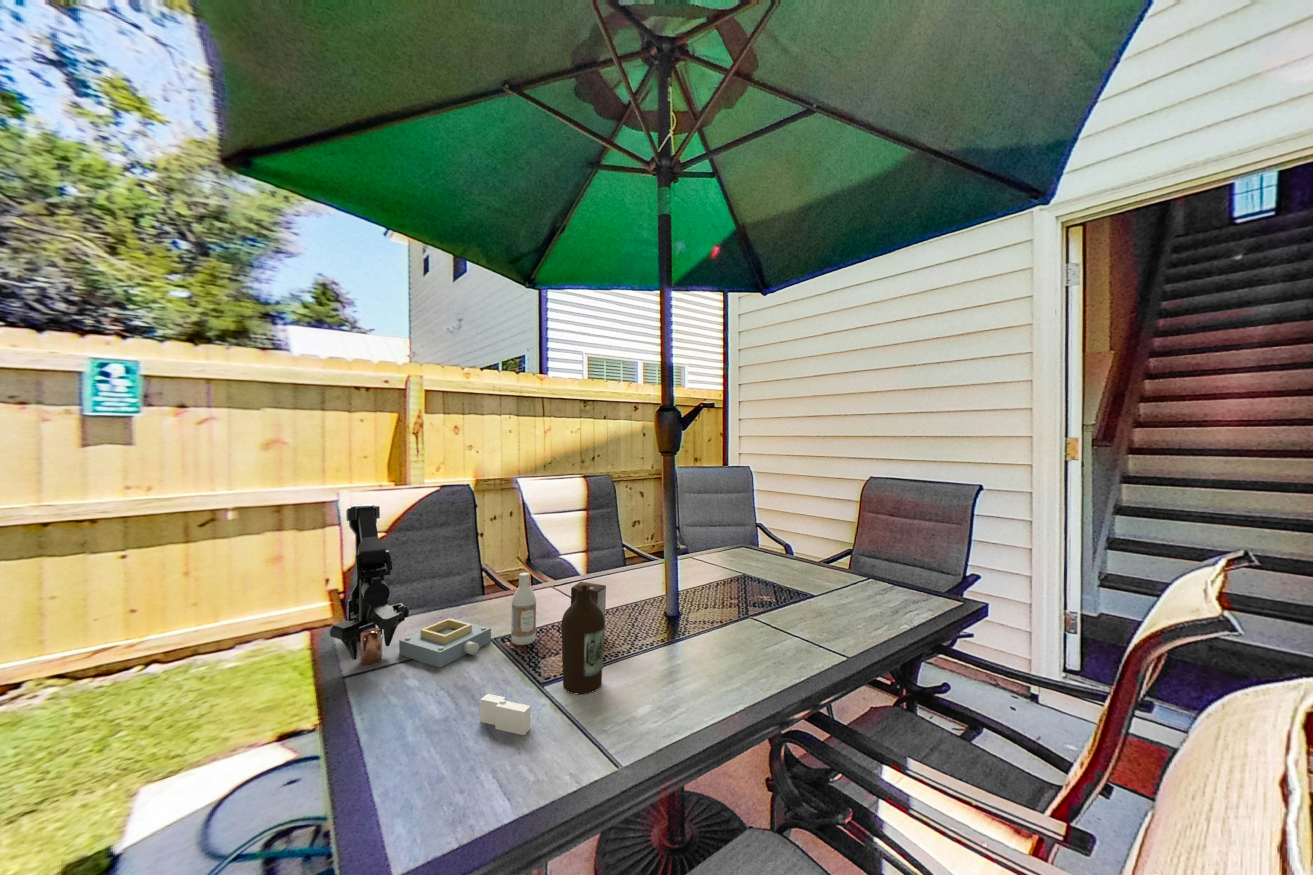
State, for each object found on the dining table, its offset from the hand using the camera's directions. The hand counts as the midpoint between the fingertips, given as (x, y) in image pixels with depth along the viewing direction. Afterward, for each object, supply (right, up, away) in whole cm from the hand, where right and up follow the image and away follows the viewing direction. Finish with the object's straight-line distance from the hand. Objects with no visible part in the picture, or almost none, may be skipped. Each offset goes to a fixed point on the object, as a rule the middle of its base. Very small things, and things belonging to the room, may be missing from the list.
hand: (371, 652), depth 133 cm
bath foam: (+37, -3, +14) cm, 40 cm away
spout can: (0, -2, 0) cm, 2 cm away
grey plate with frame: (+18, -2, +8) cm, 20 cm away
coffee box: (+56, -3, +16) cm, 58 cm away
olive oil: (+58, -4, -11) cm, 59 cm away
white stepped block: (+44, -4, -27) cm, 52 cm away
